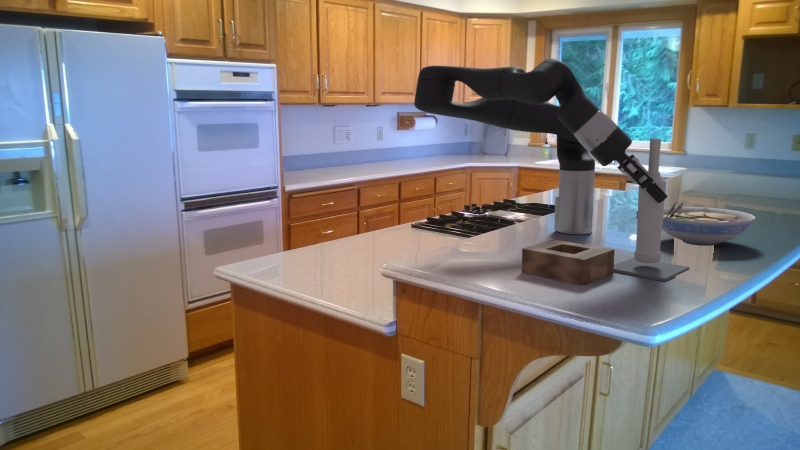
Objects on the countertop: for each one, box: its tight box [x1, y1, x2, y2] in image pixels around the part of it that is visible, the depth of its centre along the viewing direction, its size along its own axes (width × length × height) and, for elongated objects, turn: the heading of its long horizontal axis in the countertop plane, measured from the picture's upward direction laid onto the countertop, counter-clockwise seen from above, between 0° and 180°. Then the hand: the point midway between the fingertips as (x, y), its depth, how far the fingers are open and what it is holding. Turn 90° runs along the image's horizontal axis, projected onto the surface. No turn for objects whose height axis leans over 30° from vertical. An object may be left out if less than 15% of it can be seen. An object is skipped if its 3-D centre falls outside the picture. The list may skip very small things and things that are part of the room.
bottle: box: [633, 138, 667, 263], centre depth 118 cm, size 5×5×25 cm
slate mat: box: [613, 257, 690, 282], centre depth 121 cm, size 12×12×1 cm
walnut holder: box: [521, 239, 615, 286], centre depth 119 cm, size 14×12×5 cm
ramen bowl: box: [662, 201, 757, 247], centre depth 144 cm, size 25×23×8 cm
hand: (661, 197), depth 117 cm, fingers closed on bottle, 5 cm apart
